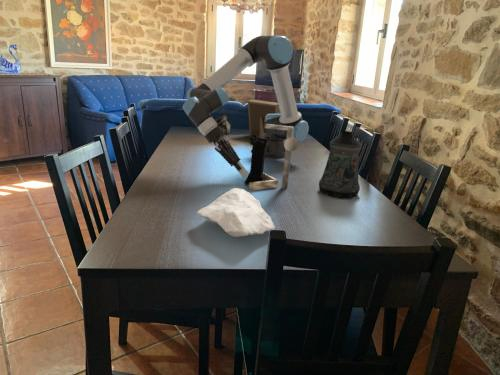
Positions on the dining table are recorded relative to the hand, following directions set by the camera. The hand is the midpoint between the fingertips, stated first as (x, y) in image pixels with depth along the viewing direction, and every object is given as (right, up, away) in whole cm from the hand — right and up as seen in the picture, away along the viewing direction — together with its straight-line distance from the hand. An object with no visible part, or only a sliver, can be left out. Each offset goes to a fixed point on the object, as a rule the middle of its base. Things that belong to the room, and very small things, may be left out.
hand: (245, 175), depth 155 cm
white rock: (-3, -17, -40) cm, 43 cm away
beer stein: (+38, -7, -1) cm, 38 cm away
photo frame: (+9, +28, +95) cm, 99 cm away
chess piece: (+4, -4, +1) cm, 6 cm away
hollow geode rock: (-20, +32, +101) cm, 108 cm away
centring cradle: (+8, -3, +1) cm, 9 cm away
